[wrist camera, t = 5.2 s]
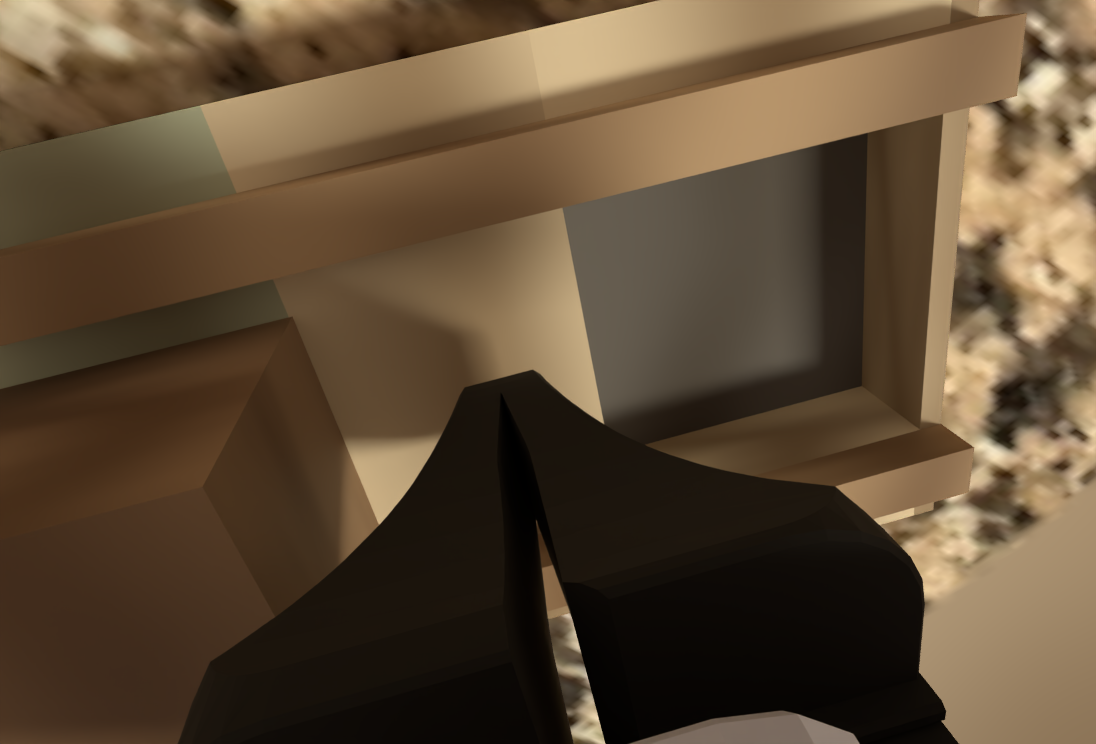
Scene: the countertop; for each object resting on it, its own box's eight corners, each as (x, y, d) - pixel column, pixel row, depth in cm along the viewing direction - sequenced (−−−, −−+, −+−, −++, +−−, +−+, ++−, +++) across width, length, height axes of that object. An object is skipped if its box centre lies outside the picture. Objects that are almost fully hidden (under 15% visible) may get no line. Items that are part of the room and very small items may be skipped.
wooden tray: (223, 633, 17) (177, 762, 14) (-67, 167, 11) (-250, 208, 8) (870, 454, 18) (962, 536, 15) (886, -51, 13) (1038, -88, 9)
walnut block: (140, 601, 13) (-7, 879, 9) (-5, 389, 11) (-306, 620, 6) (383, 536, 13) (361, 773, 9) (292, 316, 11) (203, 486, 7)
